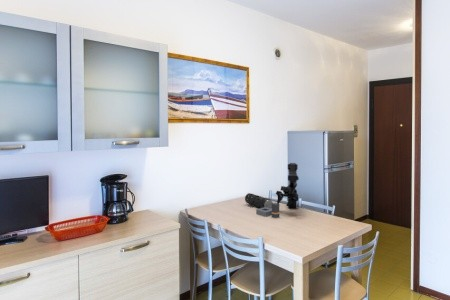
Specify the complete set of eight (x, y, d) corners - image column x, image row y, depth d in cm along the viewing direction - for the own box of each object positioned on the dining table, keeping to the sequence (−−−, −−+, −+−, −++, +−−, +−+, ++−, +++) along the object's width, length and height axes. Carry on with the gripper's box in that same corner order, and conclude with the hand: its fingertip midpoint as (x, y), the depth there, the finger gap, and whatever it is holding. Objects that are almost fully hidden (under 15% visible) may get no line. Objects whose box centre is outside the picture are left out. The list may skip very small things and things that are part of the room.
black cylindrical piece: (253, 203, 273) (253, 192, 273) (273, 210, 249) (273, 198, 249) (244, 205, 269) (244, 193, 268) (264, 212, 244) (264, 199, 244)
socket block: (264, 212, 243) (264, 207, 243) (274, 215, 236) (274, 209, 235) (256, 215, 237) (256, 209, 237) (265, 218, 229) (266, 212, 229)
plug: (275, 217, 232) (275, 202, 231) (279, 218, 229) (279, 203, 228) (271, 218, 229) (271, 203, 228) (275, 219, 226) (275, 204, 225)
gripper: (276, 180, 243) (267, 196, 237) (296, 183, 229) (286, 200, 222) (283, 189, 249) (274, 205, 242) (302, 192, 234) (293, 209, 228)
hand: (282, 204), depth 234 cm, fingers open, 9 cm apart
